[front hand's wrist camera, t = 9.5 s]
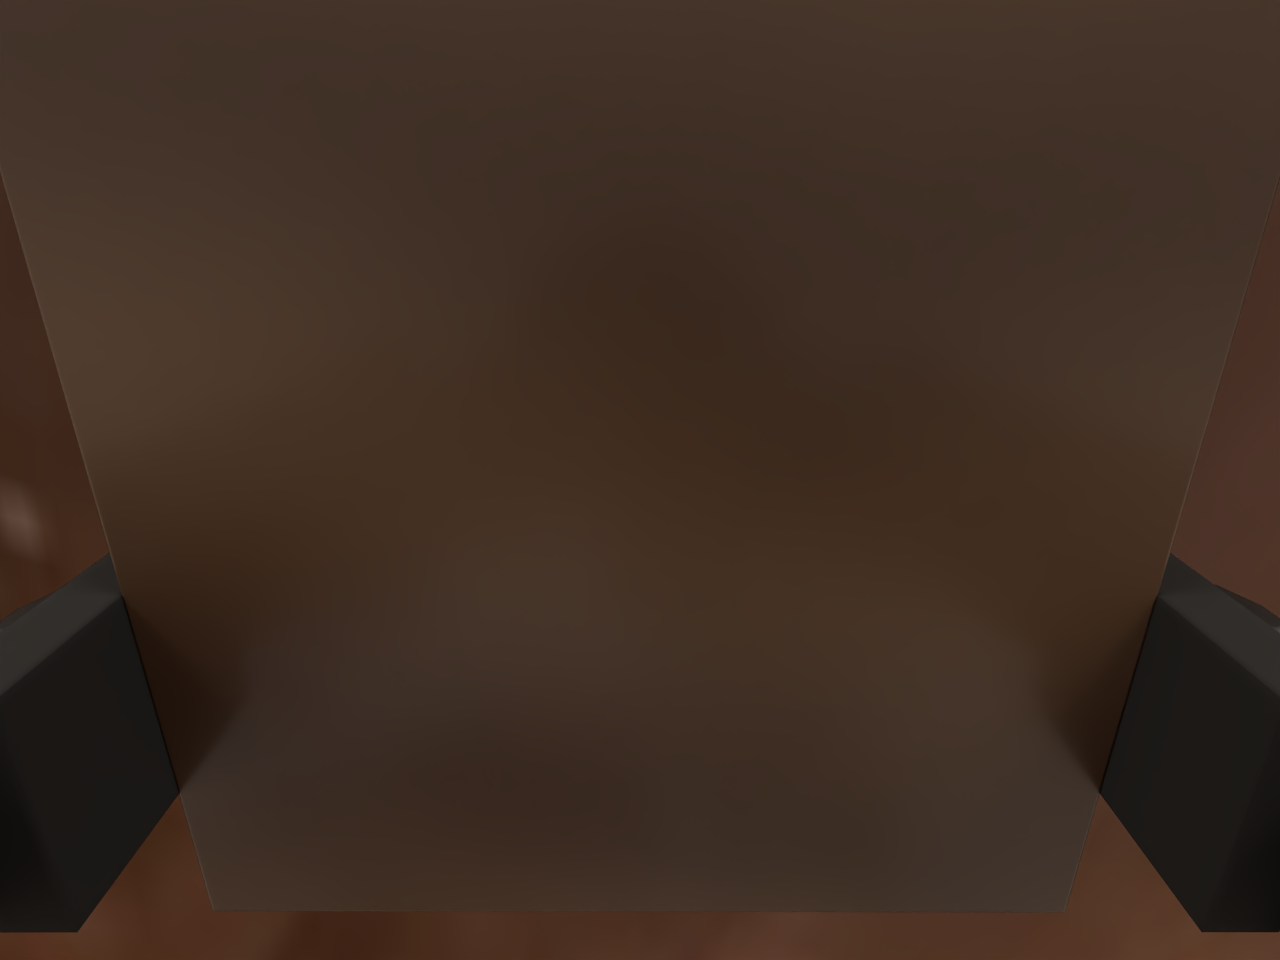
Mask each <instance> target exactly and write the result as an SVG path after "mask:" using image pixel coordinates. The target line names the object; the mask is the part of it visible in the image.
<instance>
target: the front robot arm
mask: <svg viewBox="0 0 1280 960" xmlns="http://www.w3.org/2000/svg"><path fill="white" fill-rule="evenodd" d="M178 794H179V791H178V788H177V785H176V781H175V778H174V774H173V771H172V767H171V764H170V760H169V757H168V753H167V750H166V747H165V743H164V740H163V736H162V733H161V729H160V726H159V722H158V719H157V715H156V712H155V708H154V705H153V701H152V698H151V695H150V691H149V688H148V684H147V681H146V677H145V674H144V670H143V667H142V663H141V660H140V656H139V653H138V649H137V646H136V642H135V639H134V636H133V632H132V629H131V625H130V622H129V618H128V615H127V611H126V608H125V604H124V601H123V597H122V594H121V590H120V587H119V583H118V580H117V577H116V573H115V570H114V566H113V563H112V559H111V556H110V553H108V554H107V555H105V556H104V557H103V558H101V559H100V560H99V561H97V562H96V563H94V564H93V565H92V566H90V567H89V568H88V569H86V570H85V571H83V572H82V573H81V574H79V575H78V576H77V577H75V578H74V579H72V580H71V581H70V582H68V583H67V584H66V585H64V586H63V587H61V588H60V589H59V590H57V591H56V592H54V593H52V594H49V595H47V596H45V597H43V598H41V599H38V600H36V601H34V602H32V603H30V604H28V605H25V606H23V607H21V608H19V609H17V610H16V611H14V612H13V613H12V614H10V615H9V616H7V617H6V618H5V619H3V620H2V621H0V932H78V930H79V929H80V928H81V926H82V925H83V924H84V922H85V921H86V920H87V918H88V917H89V916H90V914H91V913H92V911H93V910H94V909H95V907H96V906H97V905H98V903H99V902H100V901H101V899H102V898H103V896H104V895H105V894H106V892H107V891H108V890H109V888H110V887H111V886H112V884H113V883H114V881H115V880H116V879H117V877H118V876H119V875H120V873H121V872H122V871H123V869H124V868H125V866H126V865H127V864H128V862H129V861H130V860H131V858H132V857H133V856H134V854H135V853H136V851H137V850H138V849H139V847H140V846H141V845H142V843H143V842H144V841H145V839H146V838H147V837H148V835H149V834H150V832H151V831H152V830H153V828H154V827H155V826H156V824H157V823H158V822H159V820H160V819H161V817H162V816H163V815H164V813H165V812H166V811H167V809H168V808H169V807H170V805H171V804H172V802H173V801H174V800H175V798H176V797H177V796H178ZM1100 794H1101V795H1102V797H1103V798H1104V800H1105V801H1106V802H1107V804H1108V805H1109V806H1110V808H1111V809H1112V810H1113V812H1114V813H1115V815H1116V816H1117V817H1118V819H1119V820H1120V821H1121V823H1122V824H1123V825H1124V827H1125V828H1126V830H1127V831H1128V832H1129V834H1130V835H1131V836H1132V838H1133V839H1134V840H1135V842H1136V843H1137V844H1138V846H1139V847H1140V849H1141V850H1142V851H1143V853H1144V854H1145V855H1146V857H1147V858H1148V859H1149V861H1150V862H1151V864H1152V865H1153V866H1154V868H1155V869H1156V870H1157V872H1158V873H1159V874H1160V876H1161V877H1162V879H1163V880H1164V881H1165V883H1166V884H1167V885H1168V887H1169V888H1170V889H1171V891H1172V892H1173V894H1174V895H1175V896H1176V898H1177V899H1178V900H1179V902H1180V903H1181V904H1182V906H1183V907H1184V909H1185V910H1186V911H1187V913H1188V914H1189V915H1190V917H1191V918H1192V919H1193V921H1194V922H1195V924H1196V925H1197V926H1198V928H1199V929H1200V930H1201V932H1279V931H1280V618H1278V617H1277V616H1275V615H1274V614H1273V613H1271V612H1270V611H1268V610H1267V609H1266V608H1264V607H1263V606H1261V605H1259V604H1257V603H1255V602H1252V601H1250V600H1248V599H1246V598H1244V597H1241V596H1239V595H1237V594H1235V593H1233V592H1230V591H1228V590H1226V589H1224V588H1222V587H1220V586H1217V585H1213V584H1212V583H1211V582H1209V581H1208V580H1207V579H1205V578H1204V577H1202V576H1201V575H1200V574H1198V573H1197V572H1196V571H1194V570H1193V569H1192V568H1190V567H1189V566H1187V565H1186V564H1185V563H1183V562H1182V561H1181V560H1179V559H1178V558H1176V557H1175V556H1174V555H1172V554H1171V553H1170V555H1169V558H1168V562H1167V565H1166V568H1165V572H1164V575H1163V579H1162V582H1161V586H1160V589H1159V592H1158V596H1157V599H1156V602H1155V606H1154V609H1153V613H1152V616H1151V620H1150V623H1149V626H1148V630H1147V633H1146V637H1145V640H1144V644H1143V647H1142V650H1141V654H1140V657H1139V661H1138V664H1137V667H1136V671H1135V674H1134V678H1133V681H1132V684H1131V688H1130V691H1129V695H1128V698H1127V702H1126V705H1125V708H1124V712H1123V715H1122V719H1121V722H1120V725H1119V729H1118V732H1117V736H1116V739H1115V742H1114V746H1113V749H1112V753H1111V756H1110V760H1109V763H1108V766H1107V770H1106V773H1105V777H1104V780H1103V783H1102V787H1101V790H1100Z"/></svg>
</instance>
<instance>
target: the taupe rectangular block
mask: <svg viewBox="0 0 1280 960" xmlns="http://www.w3.org/2000/svg"><path fill="white" fill-rule="evenodd" d="M0 174H1V177H2V181H3V184H4V188H5V191H6V195H7V198H8V202H9V205H10V209H11V212H12V215H13V219H14V222H15V226H16V229H17V233H18V236H19V240H20V243H21V247H22V250H23V254H24V257H25V261H26V264H27V268H28V271H29V275H30V278H31V281H32V285H33V288H34V292H35V295H36V299H37V302H38V306H39V309H40V313H41V316H42V320H43V323H44V327H45V330H46V334H47V337H48V340H49V344H50V347H51V351H52V354H53V358H54V361H55V365H56V368H57V372H58V375H59V379H60V382H61V386H62V389H63V393H64V396H65V399H66V403H67V406H68V410H69V413H70V417H71V420H72V424H73V427H74V431H75V434H76V438H77V441H78V445H79V448H80V452H81V455H82V458H83V462H84V465H85V469H86V472H87V476H88V479H89V483H90V486H91V490H92V493H93V497H94V500H95V504H96V507H97V511H98V514H99V517H100V521H101V524H102V528H103V531H104V535H105V538H106V542H107V545H108V549H109V552H110V556H111V559H112V563H113V566H114V570H115V573H116V577H117V580H118V583H119V587H120V590H121V594H122V597H123V601H124V604H125V608H126V611H127V615H128V618H129V622H130V625H131V629H132V632H133V636H134V639H135V642H136V646H137V649H138V653H139V656H140V660H141V663H142V667H143V670H144V674H145V677H146V681H147V684H148V688H149V691H150V695H151V698H152V701H153V705H154V708H155V712H156V715H157V719H158V722H159V726H160V729H161V733H162V736H163V740H164V743H165V747H166V750H167V753H168V757H169V760H170V764H171V767H172V771H173V774H174V778H175V781H176V785H177V788H178V791H179V795H180V799H181V802H182V806H183V809H184V813H185V816H186V820H187V823H188V826H189V830H190V833H191V837H192V840H193V844H194V847H195V851H196V854H197V858H198V861H199V865H200V868H201V872H202V875H203V879H204V882H205V885H206V889H207V892H208V896H209V899H210V903H211V906H212V909H213V910H215V911H507V912H1064V911H1065V910H1066V906H1067V903H1068V899H1069V896H1070V893H1071V889H1072V886H1073V882H1074V879H1075V876H1076V872H1077V869H1078V865H1079V862H1080V858H1081V855H1082V852H1083V848H1084V845H1085V841H1086V838H1087V835H1088V831H1089V828H1090V824H1091V821H1092V818H1093V814H1094V811H1095V807H1096V804H1097V800H1098V797H1099V794H1100V790H1101V787H1102V783H1103V780H1104V777H1105V773H1106V770H1107V766H1108V763H1109V760H1110V756H1111V753H1112V749H1113V746H1114V742H1115V739H1116V736H1117V732H1118V729H1119V725H1120V722H1121V719H1122V715H1123V712H1124V708H1125V705H1126V702H1127V698H1128V695H1129V691H1130V688H1131V684H1132V681H1133V678H1134V674H1135V671H1136V667H1137V664H1138V661H1139V657H1140V654H1141V650H1142V647H1143V644H1144V640H1145V637H1146V633H1147V630H1148V626H1149V623H1150V620H1151V616H1152V613H1153V609H1154V606H1155V602H1156V599H1157V596H1158V592H1159V589H1160V586H1161V582H1162V579H1163V575H1164V572H1165V568H1166V565H1167V562H1168V558H1169V555H1170V551H1171V548H1172V545H1173V541H1174V538H1175V534H1176V531H1177V528H1178V524H1179V521H1180V517H1181V514H1182V510H1183V507H1184V504H1185V500H1186V497H1187V493H1188V490H1189V487H1190V483H1191V480H1192V476H1193V473H1194V470H1195V466H1196V463H1197V459H1198V456H1199V452H1200V449H1201V446H1202V442H1203V439H1204V435H1205V432H1206V429H1207V425H1208V422H1209V418H1210V415H1211V412H1212V408H1213V405H1214V401H1215V398H1216V394H1217V391H1218V388H1219V384H1220V381H1221V377H1222V374H1223V371H1224V367H1225V364H1226V360H1227V357H1228V354H1229V350H1230V347H1231V343H1232V340H1233V336H1234V333H1235V330H1236V326H1237V323H1238V319H1239V316H1240V313H1241V309H1242V306H1243V302H1244V299H1245V296H1246V292H1247V289H1248V285H1249V282H1250V278H1251V275H1252V272H1253V268H1254V265H1255V261H1256V258H1257V255H1258V251H1259V248H1260V244H1261V241H1262V238H1263V234H1264V231H1265V227H1266V224H1267V220H1268V217H1269V214H1270V210H1271V207H1272V203H1273V200H1274V197H1275V193H1276V190H1277V186H1278V183H1279V180H1280V0H0Z"/></svg>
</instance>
